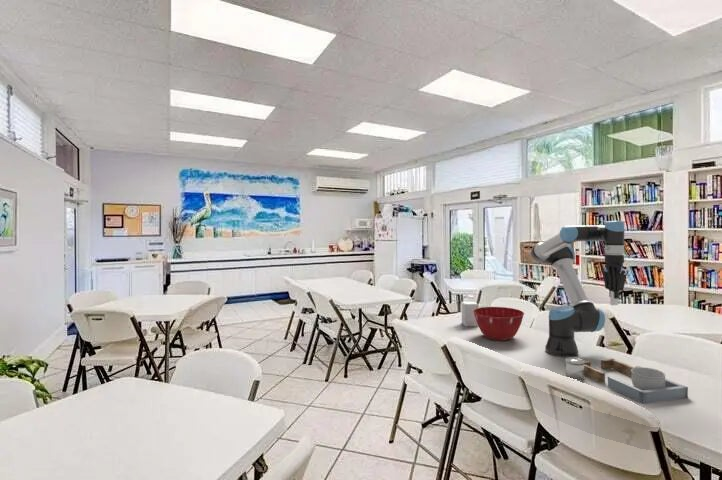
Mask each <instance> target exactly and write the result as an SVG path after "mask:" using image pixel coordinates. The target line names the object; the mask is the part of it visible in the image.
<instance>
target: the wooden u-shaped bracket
mask: <svg viewBox="0 0 722 480" xmlns="http://www.w3.org/2000/svg"><path fill="white" fill-rule="evenodd" d="M584 361H585V364H584V376H585V377H588V378H591V379H593V380H595V381H596V380H597V382H599V383H601V384H606V373H605V372H603V371H601V370H614V369H615V371H618V372H619V371H620V373H622V374H625V375H626V376H629V377H631V378H632V373H631V369H633V368H635V367H636V366H633V365H630V364H627V363H625V362H623V361H620V360H618V359H614V358H604V359H603V358H602V359H600V369H601V370H599V369H596V368H595V367H592V362H591V361H589V360H584ZM611 368H613V369H611Z"/></svg>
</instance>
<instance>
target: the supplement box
mask: <svg viewBox="0 0 722 480" xmlns="http://www.w3.org/2000/svg"><path fill="white" fill-rule="evenodd" d="M477 308H479V303H477V302H475V301H461V325H463V326H464V327H479V326H478V324H477V322H476V319H475V315H474V312H473V310H475V309H477Z"/></svg>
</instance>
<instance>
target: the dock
mask: <svg viewBox="0 0 722 480" xmlns="http://www.w3.org/2000/svg"><path fill="white" fill-rule="evenodd" d="M607 387H608V388H610V389H612V390H615V391H617V392H618V393H620V394H622V395H624V396H626V397H629V398H631V399H633V400H635V401H637V402H639V403H641V404H651V403H657V402H658V403H659V402H667V401H674V400H680V399H687V398H688V397H689V396H688V395H689V390H688V389H689V387H688V386H685V385H683V384H680V383H678V382H676V381H673V380H670V379H668V378H665V388H660V389H652V390H644V391H643V390H641V389H638V388H636V387H634V386H633V384H632V385H631V384H629V383H626V382H625V381H622V380H620V379H618V378H615V377H614V376H607Z"/></svg>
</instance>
